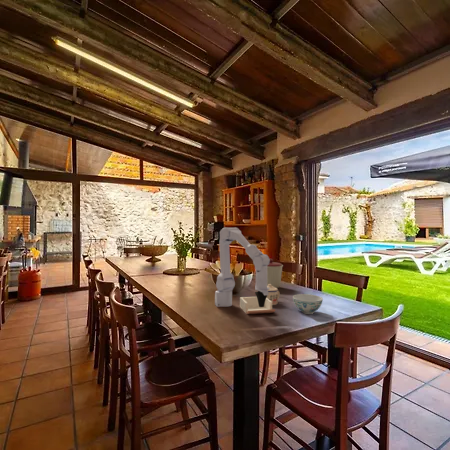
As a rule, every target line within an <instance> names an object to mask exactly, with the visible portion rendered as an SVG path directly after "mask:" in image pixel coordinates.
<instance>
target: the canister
mask: <svg viewBox="0 0 450 450" xmlns="http://www.w3.org/2000/svg"><path fill="white" fill-rule="evenodd" d="M269 259H270V263H269V264H268V265H267V286H268V284H272V286H273V287H275V288H277V289H278V288H280V287H281V280H282V272H283V267H284V265H283V264H282V263H281V262H274V259H272V258H269Z"/></svg>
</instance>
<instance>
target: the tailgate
mask: <svg viewBox="0 0 450 450" xmlns="http://www.w3.org/2000/svg"><path fill="white" fill-rule="evenodd" d="M275 311H276V309H275V308H274V309H273V308H272V309H271V310H253V311H248V312H247V313H245V314H246V315H256V314H257V315H258V314H261V315H262V314H274V313H275Z"/></svg>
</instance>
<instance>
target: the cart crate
mask: <svg viewBox="0 0 450 450" xmlns="http://www.w3.org/2000/svg"><path fill="white" fill-rule="evenodd" d="M239 307H240V308H241V310H242V311H243V312H244V313H245V314H246V313H247V312H248V311H253V310H271V309H273V305H272V301H270V300H269V299H268V298H266V300H265V304H264V307H259V304H258V299H257V296H241V297H239Z"/></svg>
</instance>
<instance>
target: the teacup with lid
mask: <svg viewBox="0 0 450 450" xmlns="http://www.w3.org/2000/svg"><path fill="white" fill-rule="evenodd" d="M267 287H268V288H270V289H269V290H268V296H267V297H266V298H268V299H269V300H270V301H272V306H275V305H278V299H279V298H280V296H281V295H280V290H279V289H278V288H275V287H273V286H272V284H268V286H267Z"/></svg>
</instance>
